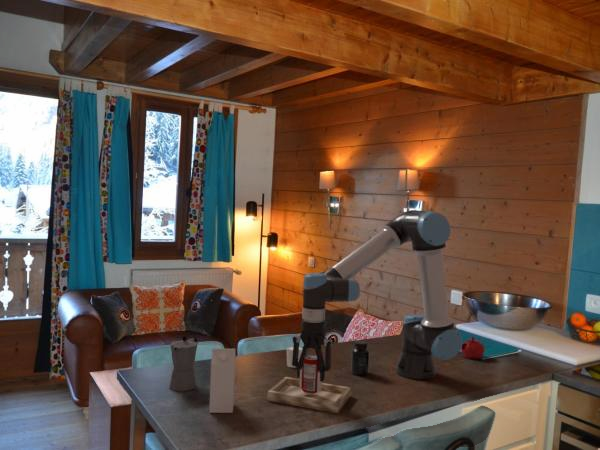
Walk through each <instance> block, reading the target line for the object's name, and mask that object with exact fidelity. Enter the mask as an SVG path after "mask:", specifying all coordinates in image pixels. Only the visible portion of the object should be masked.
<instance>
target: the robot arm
mask: <svg viewBox="0 0 600 450" xmlns="http://www.w3.org/2000/svg"><path fill="white" fill-rule="evenodd" d="M381 229H382V230H381V231H379V232H378V233H377V234H376V235H374V236H372V238H371V237H370V239H368V240H367V241H366V242H364V243H363V244H362V245H360V246H359V247H358V248H356V249H355V250H354V251H352V252H351V253H349V254H348V255H347V256H344V258H343V259H341V260H340V261H339V262H337V263H336V264H334V265H333V266H332V267H330V268H329V269H327V270H326V271H321V272H309V273H307V274H305V275H304V277H303V285H302V310H301V311H302V312H301V319H302V320H301V333H300V335H295V336H292V339H291V340H292V343H293V345H292V346H293V359H292V365H293V366H295V367H297V368H296V369H297V371H296V372H297V374H296V376H297V379H300V382H299V389H302V378H303V360H304V356H306V355H308V351H309V349H312V350H314V352H315V355H317V360H318V364H319V368H320V371H318V378H317V392H319V391H320V390H321V389H322V383H324V381H325V380H326V379H325V378H326V372H329V371H330V370H331V369H332V345H333V343H334V341H333V340H332V339H328V338H326V336H325V324H326V323H325V321H324V320H325V319H326V303H337V302H338V303H339V302H340V303H341V302H342V303H345V302H346V303H349V302H355V301H357V300H358V299H359V297H360V294H361V287H360V283H359V282H358V280H357V279H355V278H354V277H355V276H357V275H358V274H359V273H361V272H362V271H363V270H366V268H367V267H369V266H370V265H372V264H373V263H374V262H375V261H377V260H379V259H380V258H381V257H382V256H384V255H385V254H386V253H388V252H389V251H391V250H392V249H393V248H399V247H400V246H402V245H404V244H405V243H409V242H411V245H412V251H413V252H415V254H417V261H418V269H419V270H418V271H419V279H420V286H421V287H420V288H421V295H422V305H423V313H424V314H407V315H405V316H404V317H403V319H402V320H403V321H402V324H401V326H402V334H401V335H402V337H401V338H402V339H401V351H400V352H401V353H400V355H399V358H398V361H397V362H396V367H395V372H396V373H397V375H400V377H404V378H408V379H413V380H431V379H434V378H435V377H436V373H437V371H436V366H435V363H434V358H436V359H439V360H442V361H449V360H451V359H453V358H455V357H456V356H457V355H458V352H460V350H461V346H462V344H463V338H462V335H461V334H460V332H459V331H458V330H456V329H455V322H454V319H453V318H452V317H450V313H449V305H448V297H447V295H448V294H447V287H446V278H445V277H446V276H445V270H444V260H443V251H444V250H445V249H446V248H447V247H446V242H447V241H448V240H449V237H450V235H451V225H450V222H449V220H448V219H447V217H446V216H445V215H444V214H443V213H440V212H437V211H432V210H415V209H414V210H413V209H412V210H407V211H405V212H403V213H400V214H399V215H398V216H396V217H395V218H393V219H391V220H390V221H388V222H387V223H386V224H384V225H383V226H382V227H381ZM301 341H302V343H303V346H302V348H303V350H302V353H301V356H300V359H299V362H298V355H299V347H300V343H301ZM322 344H324V347H325V351H324V353H325V357H324V355H323V351H322V350H323V349H322Z"/></svg>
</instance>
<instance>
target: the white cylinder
mask: <svg viewBox="0 0 600 450" xmlns="http://www.w3.org/2000/svg"><path fill="white" fill-rule="evenodd" d="M293 346H294V345H290V346H287V347H285V348H286V366H287V367H289V368H293V369H295V368H296V369H297V367H295V366H293V365H292V359H293ZM302 350H303V346H299V355H298V362H299V359H300V356H301V353H302Z"/></svg>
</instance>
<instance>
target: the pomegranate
mask: <svg viewBox="0 0 600 450" xmlns="http://www.w3.org/2000/svg"><path fill="white" fill-rule="evenodd" d="M460 350H461V353H462V355H463V357H464V358H467V359H470V360H479V359H480V358H482V357H483V356H484V354H485V346H484V344H483V343H482V342H481V340H480V339H475V336H471V338H467V339H465V340H464V341H463V342H462V346H461V349H460Z"/></svg>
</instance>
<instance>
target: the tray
mask: <svg viewBox="0 0 600 450" xmlns="http://www.w3.org/2000/svg"><path fill="white" fill-rule="evenodd" d="M299 382H300V378H295V377H289V376H284V377H283V378H282V379H281V380H279V382H277V383H276V384H275V385H273V386H272V387H271V388H270V389H269V390H268V391H267V393H266V394H267V396H266V397H267V399H266V400H267V401H269V402H273V403H274V402H275V403H278V404H279V403H280V404H284V405H290V406H296V407H300V408H306V409H312V410H316V411H317V410H318V411H323V412H328V413H332V414H338V413H340V411H341V410H342V408H344V406H345V404H347V402H348V400H349V399H350V398H351V395H352V387H350V386H349V387H348V386H344V385H343V386H342V385H336V384H331V383H326V382H325V383H324V382H322V389H321V390H320V391H319V392H317V393H315V394H307V393H304V392H303V391H302V389H299Z"/></svg>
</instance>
